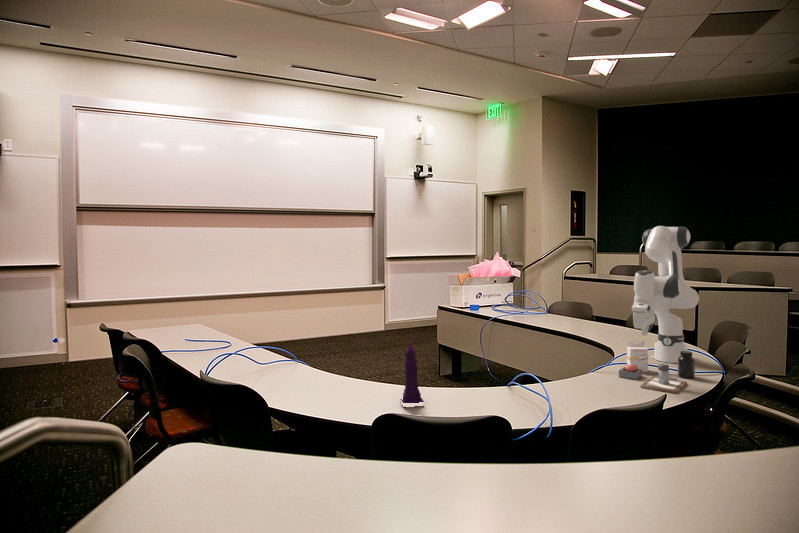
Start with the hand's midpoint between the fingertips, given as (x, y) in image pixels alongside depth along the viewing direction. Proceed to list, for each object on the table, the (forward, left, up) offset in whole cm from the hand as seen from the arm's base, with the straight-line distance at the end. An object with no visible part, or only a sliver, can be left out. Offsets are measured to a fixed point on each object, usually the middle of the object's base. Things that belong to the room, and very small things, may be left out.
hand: (644, 335), depth 218 cm
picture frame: (+4, +9, -21) cm, 23 cm away
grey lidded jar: (+4, +9, -20) cm, 22 cm away
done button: (-2, -7, -19) cm, 20 cm away
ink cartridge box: (-15, -8, -22) cm, 28 cm away
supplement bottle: (-17, +13, -21) cm, 30 cm away
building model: (+93, -62, -21) cm, 114 cm away
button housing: (-2, -7, -21) cm, 22 cm away
